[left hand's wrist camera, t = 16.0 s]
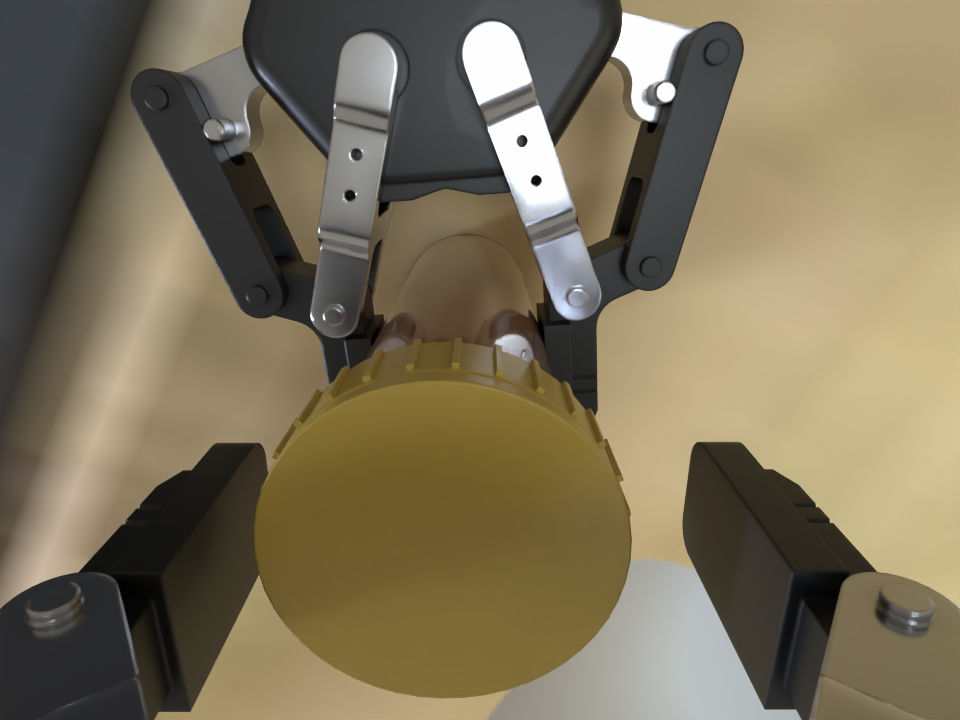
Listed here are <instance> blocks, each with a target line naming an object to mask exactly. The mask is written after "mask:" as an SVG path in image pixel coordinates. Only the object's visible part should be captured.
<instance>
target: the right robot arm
mask: <svg viewBox="0 0 960 720" xmlns="http://www.w3.org/2000/svg"><path fill="white" fill-rule="evenodd" d="M743 51H744V46H743V40H742V37H741V35H740V33H739V32H738V30H737V29H736V28H735V27H734V26H732V25H731V24H729V23H726V22H719V21H718V22H712V23H709V24H707V25H705V26H700V27H697V28H687V27H682V26H678V25H674V24H670V23H666V22H662V21H657V20H653V19H649V18H645V17H641V16H636V15H632V14H628V13H624V12H622V7H621V2H620V0H251V3H250V7H249V11H248V14H247V17H246V20H245V23H244V28H243V46H240V47H238V48H236V49H233V50H231V51H229V52H227V53H224V54H222V55H220V56H218V57H215V58H213V59H211V60H208V61H206V62H204V63H202V64H199V65H197V66H195V67H192V68H190V69H188V70H186V71H183V72H180V73H177V72H172V71H166V70H161V69H155V68H154V69H146V70H144V71H142V72H140V73H139V74H138V75H137V76H136V77H135V79H134V80H133V83H132V86H131V100H132V104H133V106H134V108H135V110H136V112H137V114H138V116H139V118H140V120H141V122H142V124H143V126H144V127H145V129H146V131H147V133H148V135H149V137H150V139H151V141H152V143H153V145H154V147H155V148H156V150H157V152H158V154H159V156H160V158H161V160H162V162H163V164H164V166H165V168H166V169H167V171H168V173H169V175H170V177H171V179H172V181H173V183H174V185H175V187H176V188H177V190H178V192H179V194H180V196H181V198H182V200H183V202H184V204H185V206H186V208H187V209H188V211H189V213H190V215H191V217H192V219H193V221H194V223H195V225H196V227H197V229H198V230H199V232H200V234H201V236H202V238H203V240H204V242H205V244H206V246H207V248H208V250H209V251H210V253H211V255H212V257H213V259H214V261H215V263H216V265H217V267H218V269H219V270H220V272H221V274H222V276H223V278H224V280H225V282H226V284H227V286H228V288H229V290H230V291H231V293H232V295H233V297H234V299H235V301H236V303H237V305H238V306H239V307H240V309H241V310H242V311H243V312H245V313H246V314H248V315H249V316H252V317H255V318H268V317H271V316H273V315H275V316H278V317H282V318H286V319H290V320H294V321H297V322H300V323H303V324H305V325H307V326H308V327H309V328H311V329H312V330H313V331H314V332H315V333H316V335H317V336H318V338H319V340H320V342H321V345H322V350H323V356H324V362H325V368H326V374H327V379H328V385H330V384H331V383H332V382H333V381H334V380H335V379H336V377H337V375H338V374H339V372H340V370H341V369H342V368H343V367H345V366H347V367H348V368H349V369H351V368H353V367H354V366H356V365H358V364H359V363H361V362H363V361H365V359H366V357H367V355H368V353H369V351H370V349H371V347H372V345H373V344H374V342H375V340H376V338H377V336H378V334H379V332H380V330H381V328H382V326H383V324H384V316H383V314H381V315H374V310H373V302H372V301H373V299H374V294H375V289H376V283H377V278H378V272H379V267H380V261H381V256H382V250H383V245H384V240H385V236H386V233H387V230H388V227H389V222H390V217H391V212H392V207H393V202H395V201H408V200H414V199H417V198H420V197H422V196H425V195H428V194H431V193H433V192H436V191H439V190H441V189H451V190H456V191H462V192H467V193H472V194H477V195H484V194H496V193H509V192H510V193H511V196H512V198H513V201H514V204H515V206H516V209H517V212H518V214H519V217H520V219H521V222H522V225H523V227H524V230H525V232H526V235H527V238H528V240H529V243H530V246H531V248H532V251H533V254H534V256H535V259H536V262H537V264H538V267H539V270H540V272H541V275H542V278H543V291H544V303H538V304H537V323H538V326H539V330H540V333H541V336H542V340H543V343H544V346H545V350H546V353H547V356H548V360H549V363H550V366H551V370H552V373H553V376H554V378H555V379H556V380H558V381H559V382H560V383H561V384H562V383H563V382H564V381H566V382H567V383H568V384H569V385H570V387H571V390H572V393H573V395H574V397H575V398H576V399H577V400H578V401H579V403H580V404H581V405H582V406H583V408H584V409H585V410H587V409H589V408H590V409H591V410H592V411H593V413H594V416H595V415H596V413H597V410H598V405H597V338H596V326H597V320H598V317H599V314H600V313H601V311H602V310H603V308H604V307H605V306H606V305H607V304H608V303H610V302H611V301H612V300H614V299H616V298H619V297H621V296H623V295H626V294H628V293H630V292H633V291H635V290H637V289H640V290H644V291H652V290H656V289H659V288H661V287H662V286H664V285H665V284H666V283H667V282H668V281H669V280H670V279H671V277H672V276H673V273H674V271H675V267H676V264H677V261H678V258H679V255H680V252H681V249H682V245H683V242H684V239H685V236H686V233H687V230H688V227H689V223H690V220H691V217H692V214H693V211H694V208H695V205H696V202H697V198H698V195H699V192H700V189H701V186H702V183H703V180H704V176H705V173H706V170H707V167H708V164H709V161H710V158H711V155H712V151H713V148H714V145H715V142H716V139H717V136H718V133H719V129H720V126H721V123H722V120H723V117H724V114H725V111H726V107H727V104H728V101H729V98H730V95H731V92H732V89H733V86H734V82H735V79H736V76H737V73H738V70H739V67H740V64H741V60H742V57H743ZM607 62H610V63H612V64H613V65H615V66H616V67H617V68H618V69H619V71H620V73H621V74H622V77H623V81H624V92H623V104H624V107H625V110H626V111H627V113H628V114H629V116H630V117H632V118H633V119H635V120H636V121H639V122H641V125H640V129H639V132H638V136H637V140H636V143H635V147H634V150H633V154H632V158H631V161H630V165H629V168H628V172H627V176H626V179H625V183H624V186H623V190H622V194H621V197H620V201H619V204H618V208H617V212H616V215H615V219H614V222H613V226H612V230H611V233H610V237H609V238H607V239H604V240H602V241H600V242H598V243H595V244H593V245H591V246H589V247H586V245H585V242H584V239H583V236H582V233H581V230H580V227H579V224H578V217H577V213H576V210H575V207H574V204H573V201H572V198H571V195H570V192H569V189H568V186H567V183H566V181H565V178H564V175H563V172H562V169H561V166H560V163H559V160H558V157H557V154H556V152H555V149H554V148H555V146H556V144H557V143H558V141H559V140H560V138H561V136H562V135H563V133H564V132H565V130H566V128H567V127H568V125H569V123H570V122H571V120H572V119H573V117H574V115H575V114H576V112H577V111H578V109H579V107H580V106H581V104H582V102H583V101H584V99H585V98H586V96H587V94H588V93H589V91H590V90H591V88H592V86H593V85H594V83H595V82H596V80H597V78H598V77H599V75H600V73H601V72H602V70H603V69H604V67H605V65H606V64H607ZM267 92H268V94H269V95H270V96H271V97H272V98H273V99H274V100H275V101H276V103H277V104H278V105H279V106H280V107H281V108H282V109H283V110H284V112H285V113H286V114H287V115H288V116H289V117H290V118H291V119H292V121H293V122H294V123H295V124H296V125H297V126H298V127H299V128H300V130H301V131H302V132H303V133H304V134H305V135H306V136H307V137H308V139H309V140H310V141H311V142H312V143H313V144H314V145H315V146H316V148H317V149H318V150H319V151H320V152H321V153H322V154H323V155H324V157H325V158H326V159H327V160H328V162H327V169H326V175H325V182H324V189H323V196H322V203H321V210H320V217H319V224H318V240H319V242H320V249H319V256H318V263H317V265H314V264H310V263H307V262H304V261H303V259H302V257H301V255H300V252H299V250H298V248H297V246H296V244H295V242H294V240H293V238H292V236H291V233H290V231H289V229H288V227H287V225H286V223H285V221H284V219H283V217H282V215H281V212H280V210H279V208H278V206H277V204H276V202H275V200H274V198H273V196H272V194H271V191H270V189H269V187H268V185H267V183H266V181H265V179H264V177H263V175H262V172H261V170H260V168H259V166H258V164H257V162H256V160H255V158H254V156H253V154H252V153H253V152H254V151H256V150H257V149H258V148H259V146H260V144H261V142H262V140H263V126H262V123H261V120H260V115H259V108H260V103H261V100H262V99H263V97H264V96H265V94H266V93H267Z"/></svg>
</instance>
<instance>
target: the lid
mask: <svg viewBox="0 0 960 720" xmlns="http://www.w3.org/2000/svg"><path fill="white" fill-rule="evenodd" d="M272 458H274V459H276V461H275V462H274V464H273V466H272V467H271V470H270V472H269V474H268V476H267V478H266V480H265V481H264V483H263V484H262V486H261V489H260V496H259V499H258V503H257V506H256V513H255V520H254V552H255V557H256V563H257V568H258V572H259V575H260V578H261V581H262V584H263V587H264V590H265V592H266V594H267V596H268V598H269V600H270V602H271V604H272V606H273V608H274V609H275V611H276V612H277V614H278V615H279V617H280V618H281V619H282V621H283V622H284V624H285V625H286V626H287V628H288V629H289V630H290V631H291V632H292V633H293V634H294V635H295V636H296V638H297V639H298V640H299V641H300V642H301V643H302V644H304V645H305V646H306V647H307V648H308V649H309V650H310V651H312V652H313V653H314V654H315V655H316V656H318V657H319V658H321V659H322V660H323V661H325V662H326V663H328V664H329V665H331V666H332V667H334V668H335V669H337V670H339V671H341V672H343V673H345V674H347V675H349V676H351V677H352V678H354V679H357V680H359V681H362V682H364V683H367V684H369V685H372V686H374V687H378V688H381V689H385V690H388V691H392V692H395V693H401V694H406V695H412V696H417V697H430V698H465V697H473V696H482V695H487V694H492V693H496V692H501V691H505V690H508V689H511V688H514V687H517V686H520V685H523V684H526V683H528V682H530V681H533V680H535V679H537V678H539V677H541V676H543V675H545V674H547V673H549V672H551V671H552V670H554V669H555V668H557V667H559V666H560V665H562V664H564V663H565V662H566V661H568V660H569V659H570V658H571V657H573V656H574V655H575V654H577V653H578V652H579V651H580V650H582V649H583V647H585V645H587V643H588V642H589V641H590V640H591V639H592V638H593V637H594V636H595V635H596V634H597V633H598V632H599V630H600V629H601V628H602V626H603V625H604V624H605V622H606V621H607V620H608V618H609V617H610V615H611V613H612V611H613V609H614V608H615V606H616V604H617V602H618V600H619V598H620V595H621V593H622V590H623V587H624V585H625V582H626V578H627V574H628V569H629V565H630V560H631V544H632V537H631V526H630V517H629V516H631V514H630V509H629V506H628V504H627V501H626V499H625V496H624V494H623V491H622V488H621V486H620V483H619V482H620V481H623V477H622V474H621V472H620V469H619V467H618V465H617V462H616V460H615V457H614V455H613V453H612V450H611V448H610V445H609V443H608V440H607V439H605V440H604V438H603V435H602V433H601V431H600V428H599V426H598V423H597V421H596V418H595V416H594V413H593V411H592V410H591V409H590V408H589V409H587V410H585V409H584V408H583V406H582V405H581V404H580V403H579V401H578V400H577V399H576V398H575V397H574V395H573V393H572V390H571V387H570V385H569V384H568V383H567V382H566V381H564V382H563V383H562V384H561V383H560V382H559V381H558V380H556V379H555V378H554V377H552V376H551V375H549V374H548V373H546V372H545V371H543V370H542V369H541V368H540V366H539V362H538V361H536V360H534V359H532V360H531V362H528V361H526V360H524V359H522V358H520V357H518V356H515V355H512V354H510V353H507V352H504V351H502V346H501V345H498V344H495V346H494V348H490V347H486V346H482V345H477V344H470V343H462V338H456V337H455V340H454V342H427V343H422V342H421V339H415V340H414V342H413V345H408V346H403V347H400V348H396V349H393V350H390V351H386V352H383V350H382V348H380V349H378V350H375V352H374V354H373V356H372V358H369V359H367V360H365V361H363V362H361V363H359V364H358V365H356V366H354V367H353V368H351V369H349V368H348V367H347V366H345V367H343V368H342V369H341V370H340V372H339V374H338V375H337V377H336V379H335V380H334V381H333V382H332V383H331V384H330V385H328V387H327V388H326V389H325V390H324V391H323V392H321V391H319V390H316V391H315V393H314V394H313V395H312V397H311V398H310V400H309V402H308V403H307V405H306V406H305V408H304V409H303V411H302V412H301V414H300V415H299V417H298V418H296V420H295V421H294V423H293V424H292V426H291V427H290V429H289V430H288V432H287V433H286V435H285V436H284V438H283V439H282V441H281V443H280V444H279V446H278V447H277V449H276V450H275V452H274V454H273V456H272Z"/></svg>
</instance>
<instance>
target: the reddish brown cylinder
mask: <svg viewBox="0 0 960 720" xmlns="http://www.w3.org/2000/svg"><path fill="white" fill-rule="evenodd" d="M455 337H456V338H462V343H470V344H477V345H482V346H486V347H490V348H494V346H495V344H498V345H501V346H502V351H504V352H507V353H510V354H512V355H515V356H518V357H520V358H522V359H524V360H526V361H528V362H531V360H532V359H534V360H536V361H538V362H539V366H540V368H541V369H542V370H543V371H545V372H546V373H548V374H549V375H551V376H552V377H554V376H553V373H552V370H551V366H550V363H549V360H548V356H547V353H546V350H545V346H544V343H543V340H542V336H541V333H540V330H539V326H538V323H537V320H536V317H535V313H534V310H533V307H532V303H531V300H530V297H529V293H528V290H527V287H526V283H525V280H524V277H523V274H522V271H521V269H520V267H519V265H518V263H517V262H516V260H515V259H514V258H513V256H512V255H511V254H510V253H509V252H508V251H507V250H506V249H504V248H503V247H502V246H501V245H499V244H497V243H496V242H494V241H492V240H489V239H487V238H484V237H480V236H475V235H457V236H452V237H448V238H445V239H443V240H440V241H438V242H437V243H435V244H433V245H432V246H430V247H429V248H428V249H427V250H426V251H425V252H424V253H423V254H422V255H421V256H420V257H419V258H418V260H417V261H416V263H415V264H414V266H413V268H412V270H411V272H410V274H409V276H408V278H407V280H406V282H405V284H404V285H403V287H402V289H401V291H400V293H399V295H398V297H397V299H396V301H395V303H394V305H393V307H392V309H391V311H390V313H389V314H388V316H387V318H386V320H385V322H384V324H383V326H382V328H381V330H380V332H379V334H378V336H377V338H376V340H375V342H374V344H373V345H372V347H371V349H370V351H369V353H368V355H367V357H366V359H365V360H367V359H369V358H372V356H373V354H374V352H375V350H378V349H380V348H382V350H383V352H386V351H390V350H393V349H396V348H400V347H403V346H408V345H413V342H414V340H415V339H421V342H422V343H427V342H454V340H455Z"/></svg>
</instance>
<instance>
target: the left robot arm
mask: <svg viewBox="0 0 960 720" xmlns="http://www.w3.org/2000/svg"><path fill="white" fill-rule="evenodd" d="M267 476H268V470H267V462H266V455H265V451H264V448H263V446H262V445H261V444H260V443H216V444H214V445H213V446H212V447H211V448H210V449H209V451H208V452H207V453H206V454H205V455H204V456H203V458H202V459H201V460H200V461H199V462H198V464H197V465H196V466H195V467H194V468H193V469H192V470H183V471H182V472H180V473H178V474H177V475H175V476H173V477H172V478H170V479H168V480H167V481H165V482H163V483H162V484H160V485H158V486H157V487H156V488H155V489H154V490H153V491H152V492H151V493H150V495H149V496H148V497H147V498H146V499H145V500H144V501H143V502H142V503H141V504H140V509H136V510H135V511H134V512H133V513H132V514H131V515H130V517H129V518H128V519H127V520H126V524H125V525H121V526H120V527H119V529H118V530H117V531H116V532H115V533H114V534H113V535H112V536H111V537H110V538H109V540H108V541H107V542H106V543H105V544H104V545H103V546H102V547H101V548H100V549H99V551H98V552H97V553H96V554H95V555H94V556H93V557H92V558H91V559H90V560H89V561H88V563H87V564H86V565H85V566H84V567H83V568H82V569H81V570H80V571H79V572H78V573H73V574H68V575H63V576H59V577H56V578H53V579H50V580H47V581H44V582H42V583H40V584H37V585H35V586H33V587H31V588H29V589H27V590H25V591H24V592H22V593H20V594H19V595H17V596H16V597H14V598H13V599H11V600H10V601H9V602H8V603H6V604H5V605H4V606H3V607H2V608H1V609H0V720H154V719H155V717H156V716H157V714H158V712H190V711H191V709H192V707H193V705H194V703H195V701H196V699H197V697H198V695H199V693H200V691H201V689H202V687H203V685H204V683H205V681H206V679H207V677H208V675H209V673H210V671H211V669H212V667H213V665H214V663H215V661H216V659H217V657H218V655H219V653H220V651H221V649H222V647H223V645H224V643H225V641H226V639H227V637H228V635H229V633H230V631H231V629H232V627H233V625H234V623H235V621H236V619H237V617H238V615H239V613H240V611H241V609H242V607H243V605H244V603H245V601H246V599H247V597H248V595H249V593H250V591H251V589H252V587H253V585H254V583H255V581H256V579H257V577H258V575H259V572H258V568H257V563H256V557H255V552H254V520H255V513H256V506H257V503H258V499H259V496H260V489H261V486H262V484H263V483H264V481H265V480H266V478H267ZM829 520H830V519H829V518H828V517H827V516H826V515H825V514H824V512H823V511H822V510H821V509H820V508H819V507H816V504H815V502H814V501H813V500H812V499H811V498H810V497H809V496H808V495H807V494H806V493H805V491H804V490H803V489H802V488H801V487H800V486H799V485H798V484H796V483H794V482H793V481H791V480H789V479H788V478H786V477H784V476H783V475H781V474H779V473H778V472H776V471H775V470H773V469H764V468H763V467H762V466H761V465H760V464H759V462H758V461H757V460H756V459H755V458H754V457H753V455H752V454H751V453H750V452H749V451H748V449H747V448H746V447H745V446H744V445H743V444H742V443H740V442H697V443H696V444H695V445H694V446H693V449H692V452H691V458H690V466H689V474H688V481H687V489H686V497H685V504H684V512H683V536H684V542H685V546H686V550H687V553H688V555H689V557H690V559H691V561H692V563H693V565H694V567H695V569H696V571H697V573H698V575H699V577H700V579H701V581H702V583H703V585H704V587H705V589H706V591H707V593H708V595H709V597H710V599H711V601H712V604H713V606H714V607H715V610H716V612H717V614H718V616H719V618H720V620H721V622H722V624H723V626H724V628H725V630H726V632H727V634H728V636H729V638H730V640H731V642H732V644H733V646H734V648H735V650H736V652H737V654H738V656H739V658H740V660H741V662H742V664H743V666H744V668H745V670H746V672H747V674H748V676H749V679H750V681H751V683H752V685H753V687H754V689H755V691H756V693H757V695H758V697H759V699H760V701H761V703H762V705H763V707H764V709H796V710H797V712H798V714H799V715H800V717H801V719H802V720H960V609H959V608H958V607H957V606H956V605H955V604H954V603H952V602H951V601H950V600H949V599H947V598H946V597H944V596H943V595H941V594H940V593H938V592H936V591H935V590H933V589H931V588H929V587H927V586H925V585H923V584H920V583H918V582H916V581H913V580H910V579H907V578H904V577H901V576H897V575H892V574H887V573H880V572H877V571H876V570H875V569H874V568H873V567H872V566H871V564H870V563H869V562H868V561H867V560H866V559H865V558H864V557H863V556H862V555H861V553H860V552H859V551H858V550H857V549H856V548H855V547H854V546H853V545H852V543H851V542H850V541H849V540H848V539H847V538H846V537H845V536H844V535H843V533H842V532H841V531H840V530H839V529H838V528H837V527H836V526H835V525H834V524H833V523H830V521H829Z"/></svg>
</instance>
